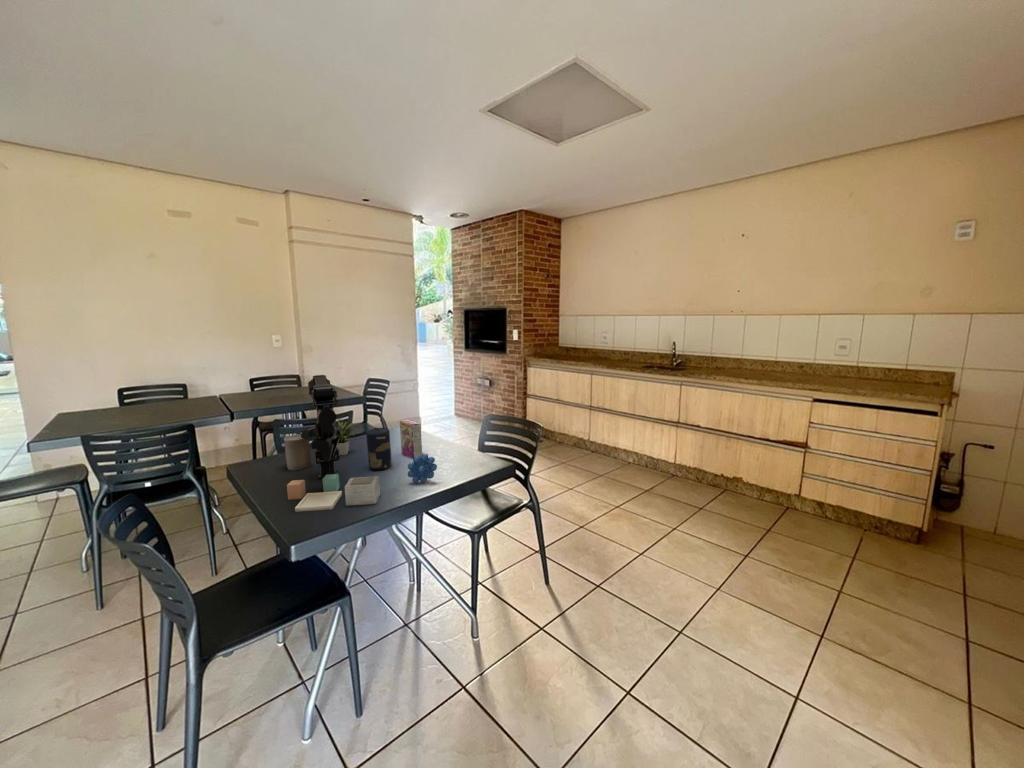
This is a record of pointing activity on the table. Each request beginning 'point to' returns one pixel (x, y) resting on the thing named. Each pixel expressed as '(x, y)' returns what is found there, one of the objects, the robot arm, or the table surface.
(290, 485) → the terracotta block
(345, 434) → the house plant
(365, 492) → the box
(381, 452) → the canister
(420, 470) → the blue knobby flower
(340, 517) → the table surface
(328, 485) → the teal block
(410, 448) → the candy bar box
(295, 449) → the pillar candle
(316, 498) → the tray
